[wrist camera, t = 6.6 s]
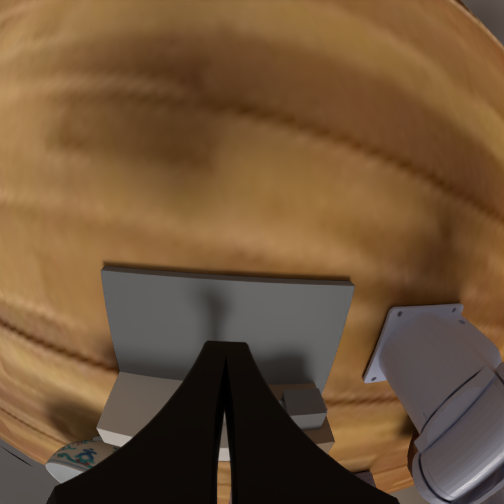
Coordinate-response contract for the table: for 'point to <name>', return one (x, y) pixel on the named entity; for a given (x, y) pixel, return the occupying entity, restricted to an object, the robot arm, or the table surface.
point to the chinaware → (78, 458)
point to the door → (220, 329)
